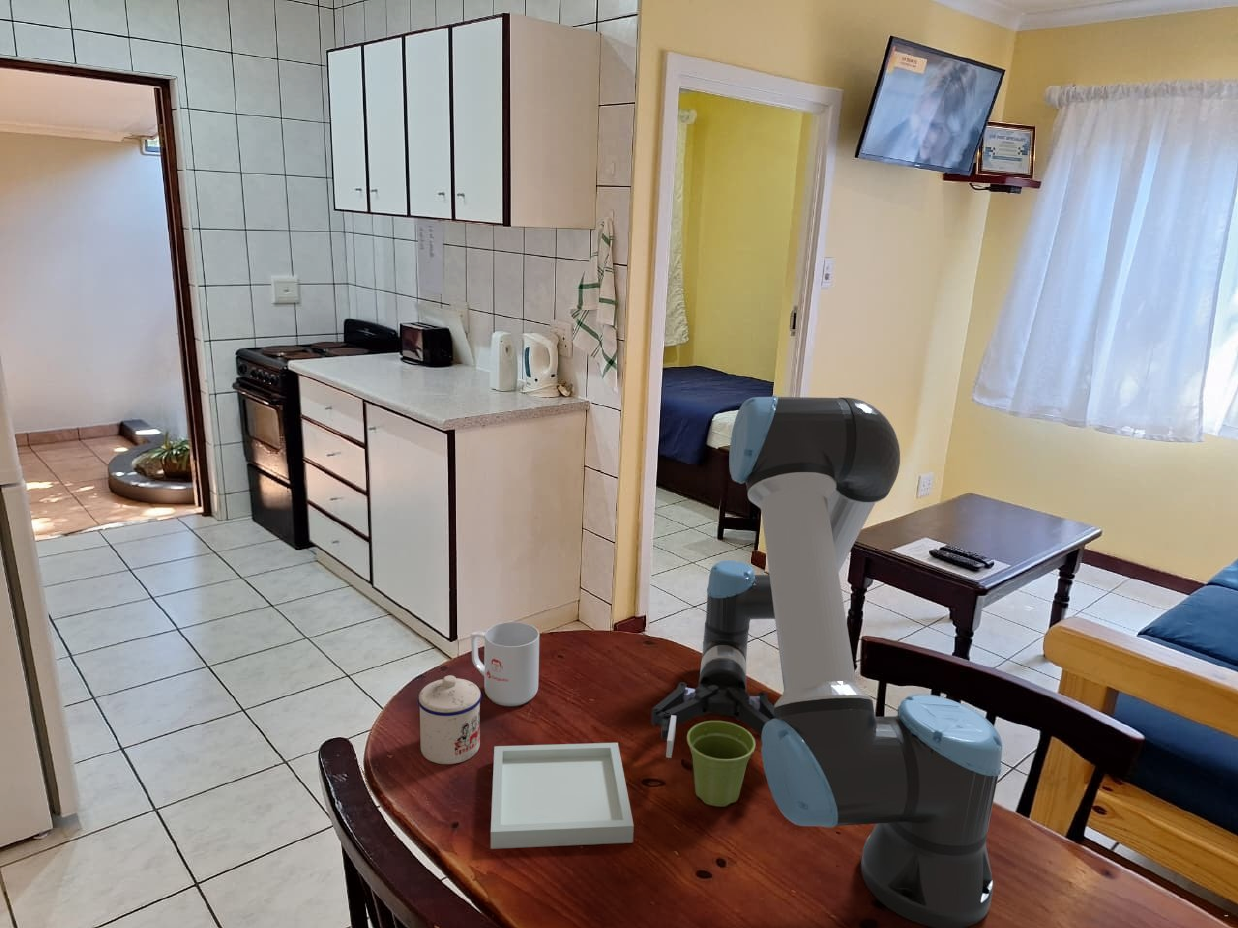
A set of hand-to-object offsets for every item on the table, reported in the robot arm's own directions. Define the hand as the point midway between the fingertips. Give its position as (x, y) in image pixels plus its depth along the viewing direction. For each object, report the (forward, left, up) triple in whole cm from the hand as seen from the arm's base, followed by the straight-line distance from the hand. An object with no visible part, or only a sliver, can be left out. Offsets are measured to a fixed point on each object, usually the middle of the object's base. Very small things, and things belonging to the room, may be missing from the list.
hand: (718, 755), depth 118 cm
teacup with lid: (+14, +37, -6) cm, 40 cm away
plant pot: (0, 0, -6) cm, 6 cm away
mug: (+28, +30, -6) cm, 41 cm away
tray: (0, +22, -6) cm, 23 cm away
